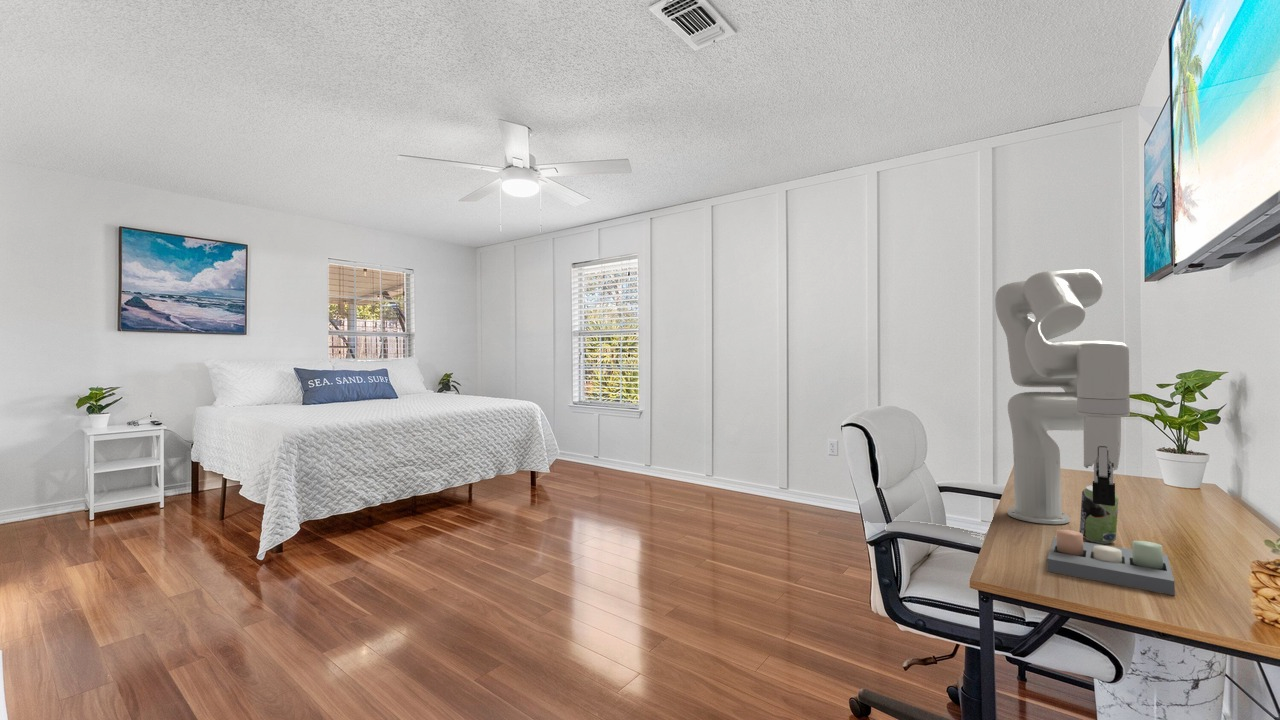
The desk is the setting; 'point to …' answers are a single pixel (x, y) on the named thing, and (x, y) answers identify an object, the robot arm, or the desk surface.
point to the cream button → (1107, 554)
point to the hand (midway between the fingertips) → (1103, 503)
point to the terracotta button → (1070, 542)
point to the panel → (1112, 569)
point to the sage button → (1147, 554)
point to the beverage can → (1098, 519)
